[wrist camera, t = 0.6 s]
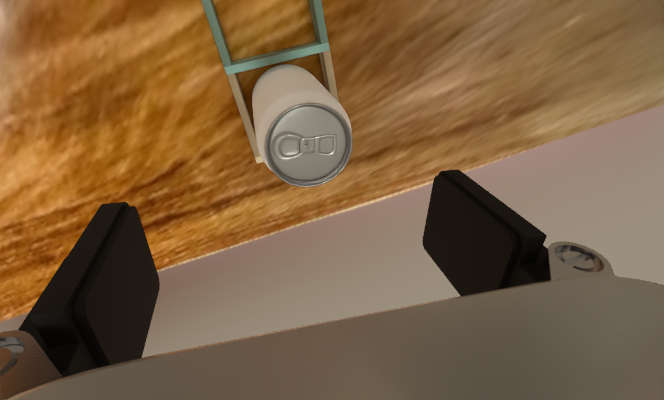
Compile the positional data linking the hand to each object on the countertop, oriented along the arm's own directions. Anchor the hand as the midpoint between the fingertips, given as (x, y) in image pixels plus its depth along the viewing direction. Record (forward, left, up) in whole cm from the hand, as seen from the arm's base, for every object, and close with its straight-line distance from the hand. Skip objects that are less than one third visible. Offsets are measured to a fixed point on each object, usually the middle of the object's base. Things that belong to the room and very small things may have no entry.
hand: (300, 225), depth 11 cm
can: (-2, +2, -23) cm, 23 cm away
